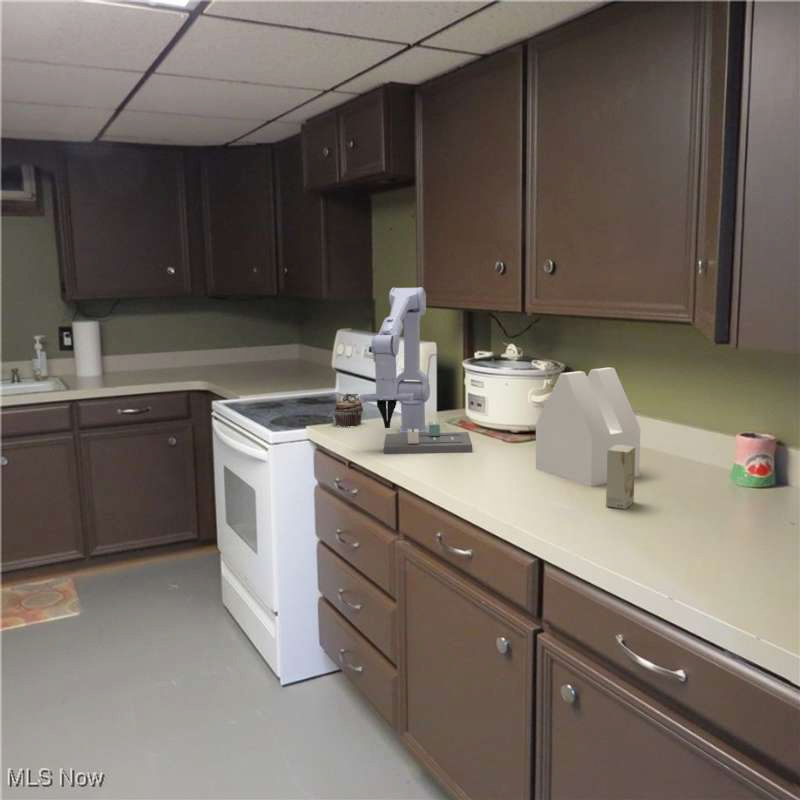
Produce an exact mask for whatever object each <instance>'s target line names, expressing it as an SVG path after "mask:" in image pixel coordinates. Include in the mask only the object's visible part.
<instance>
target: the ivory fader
mask: <svg viewBox="0 0 800 800" xmlns="http://www.w3.org/2000/svg"><path fill="white" fill-rule="evenodd" d="M414 443H419V431H418V429H408V444H414Z"/></svg>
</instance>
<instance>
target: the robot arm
mask: <svg viewBox="0 0 800 800" xmlns="http://www.w3.org/2000/svg"><path fill="white" fill-rule="evenodd" d="M388 300H389V305H390V306H389V307H390V312H389V313H390V314H389V316H386V317H385V318H384V320H383V322H382V324H381V327H380V329H379V332H378V334H376V335H374V336H373V337H372V339H371V343H370V344H371V346H370V349H371V353H372V360H373V363H374V367H375V369H374V370H375V393H365V394H362V393H361V394H359V397H360V398H359V400H360V403H362V404H363V403H375V402H376V407H377V409H378V410H379V412H380V415H381V417H382V421H383V424H384V429H390V428H391V422H392V417H393V414H394V412H395V409H396V406H397V403H399V404H400V408H401V410H400V412H401V425H400V430H399V434H404V433H408V429H418V431H419V433H428V432H427V425H426V411H425V409H426V408H425V407H426V406H425V405H426V402H427V401H429V399H430V396H431V387H430V379H429V377H428V375H427V374H426V373H424V372H423V371H422V370H421V368H420V365H421V364H420V362H421V360H420V359H421V358H420V356H421V354H420V353H421V351H420V350H421V349H420V347H421V345H420V344H421V343H420V339H421V338H420V336H421V333H420V331H421V327H420V326H421V325H420V324H421V322H420V321H421V317H422V316H424V315H425V314H426V310H427V301H426V300H427V295H426V291H425V289H424V287H422V286H420V287H392V288H391V289H390V291H389V295H388ZM402 331H403V367H404V368H403V369H404V370H403V371H402V372H400V373H399V374H398V375H397V355H398V354H399V349H400V342H401V341H400V336H401V334H402Z"/></svg>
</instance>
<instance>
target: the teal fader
mask: <svg viewBox="0 0 800 800" xmlns="http://www.w3.org/2000/svg"><path fill="white" fill-rule="evenodd" d="M440 429H441V427H440V421H429V422H428V433H429V436H440V433H441V432H440Z"/></svg>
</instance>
